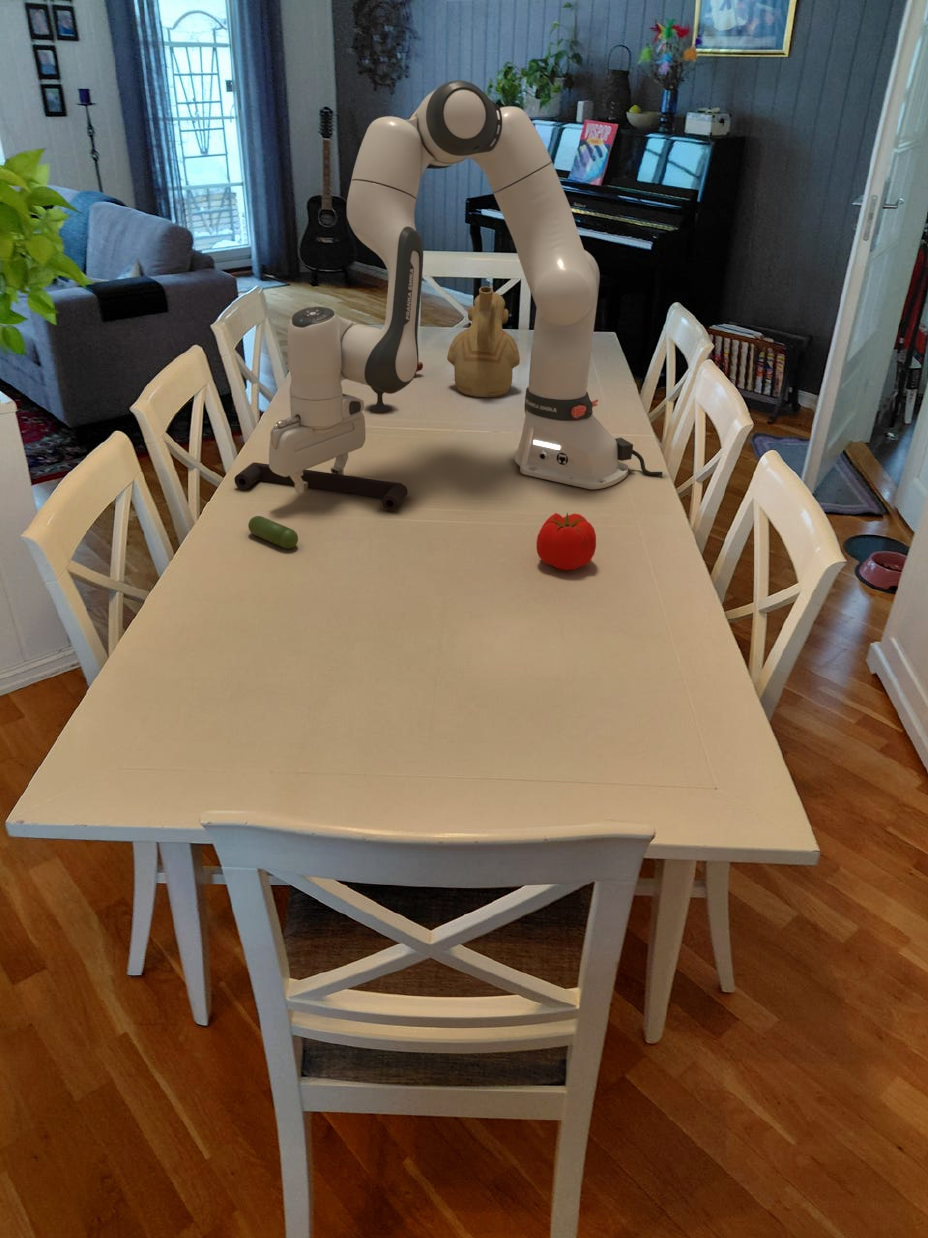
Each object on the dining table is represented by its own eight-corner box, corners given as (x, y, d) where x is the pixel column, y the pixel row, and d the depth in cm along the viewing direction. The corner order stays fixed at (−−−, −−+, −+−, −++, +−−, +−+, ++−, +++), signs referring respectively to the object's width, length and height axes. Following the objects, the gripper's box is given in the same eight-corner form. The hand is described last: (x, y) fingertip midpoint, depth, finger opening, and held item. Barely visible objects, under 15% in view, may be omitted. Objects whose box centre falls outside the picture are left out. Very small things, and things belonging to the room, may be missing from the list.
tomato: (578, 547, 152) (583, 505, 148) (601, 573, 145) (607, 529, 141) (524, 553, 149) (528, 510, 146) (545, 579, 142) (550, 535, 138)
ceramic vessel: (519, 380, 229) (527, 273, 216) (514, 405, 212) (522, 292, 199) (451, 375, 230) (454, 269, 217) (440, 400, 213) (444, 286, 200)
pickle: (302, 547, 148) (301, 529, 146) (288, 554, 146) (286, 535, 144) (259, 528, 153) (258, 510, 151) (244, 535, 151) (243, 517, 149)
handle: (235, 488, 166) (233, 472, 165) (250, 476, 171) (249, 460, 170) (397, 512, 160) (397, 496, 159) (408, 499, 166) (408, 483, 164)
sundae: (394, 414, 204) (394, 345, 196) (363, 413, 204) (362, 343, 196) (396, 404, 209) (396, 337, 202) (366, 403, 209) (365, 335, 202)
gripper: (284, 428, 149) (289, 507, 156) (371, 399, 163) (371, 472, 170) (257, 419, 152) (263, 497, 160) (344, 390, 166) (346, 463, 174)
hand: (320, 484), depth 165 cm, fingers closed on handle, 7 cm apart
